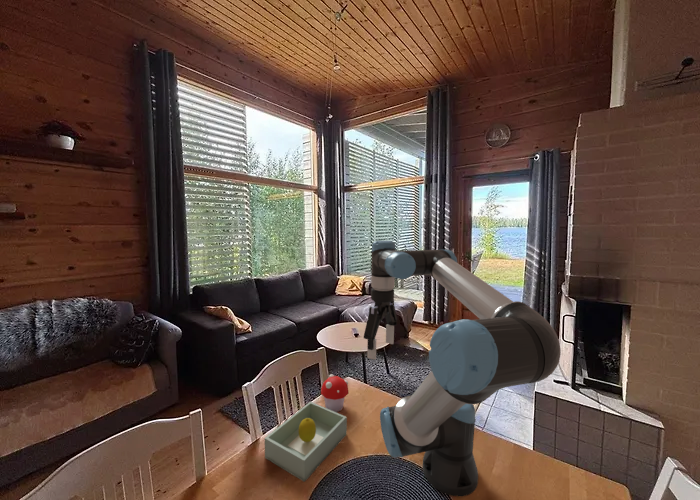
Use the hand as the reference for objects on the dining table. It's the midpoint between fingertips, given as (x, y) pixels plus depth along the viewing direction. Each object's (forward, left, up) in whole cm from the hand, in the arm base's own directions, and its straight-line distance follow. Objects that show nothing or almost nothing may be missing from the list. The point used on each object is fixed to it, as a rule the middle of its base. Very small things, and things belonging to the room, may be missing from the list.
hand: (381, 350), depth 102 cm
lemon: (+16, +19, -28) cm, 37 cm away
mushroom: (+20, -2, -29) cm, 35 cm away
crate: (+16, +19, -29) cm, 38 cm away
